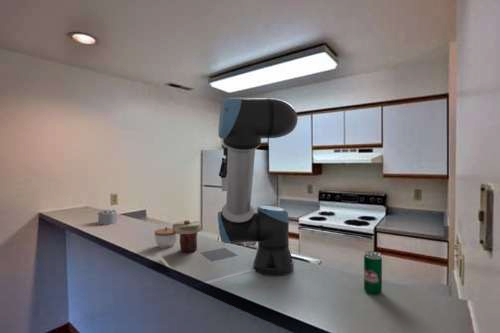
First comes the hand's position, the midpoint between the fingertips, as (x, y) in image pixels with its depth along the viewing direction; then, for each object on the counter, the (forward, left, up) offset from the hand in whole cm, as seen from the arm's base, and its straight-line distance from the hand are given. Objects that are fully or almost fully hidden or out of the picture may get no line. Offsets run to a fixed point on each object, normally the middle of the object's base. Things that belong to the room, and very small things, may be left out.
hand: (231, 192), depth 127 cm
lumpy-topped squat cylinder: (+91, +45, -26) cm, 105 cm away
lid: (+3, +21, -16) cm, 27 cm away
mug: (+3, +21, -26) cm, 34 cm away
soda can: (-63, -15, -26) cm, 70 cm away
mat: (-8, +11, -26) cm, 29 cm away
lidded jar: (+18, +26, -26) cm, 41 cm away
